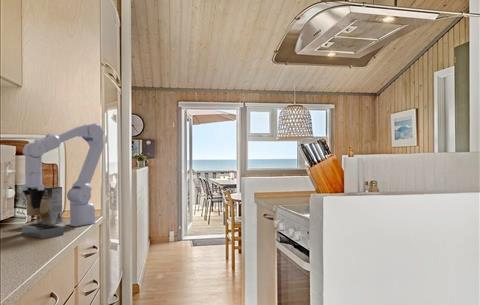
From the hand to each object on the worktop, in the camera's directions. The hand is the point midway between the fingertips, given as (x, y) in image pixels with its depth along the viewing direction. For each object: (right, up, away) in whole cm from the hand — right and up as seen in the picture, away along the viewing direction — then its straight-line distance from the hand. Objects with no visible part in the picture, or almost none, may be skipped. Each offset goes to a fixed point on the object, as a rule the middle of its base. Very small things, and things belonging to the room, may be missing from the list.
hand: (34, 207), depth 144 cm
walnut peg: (0, -3, 0) cm, 3 cm away
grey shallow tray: (+6, -9, -5) cm, 12 cm away
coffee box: (-4, -10, +19) cm, 21 cm away
